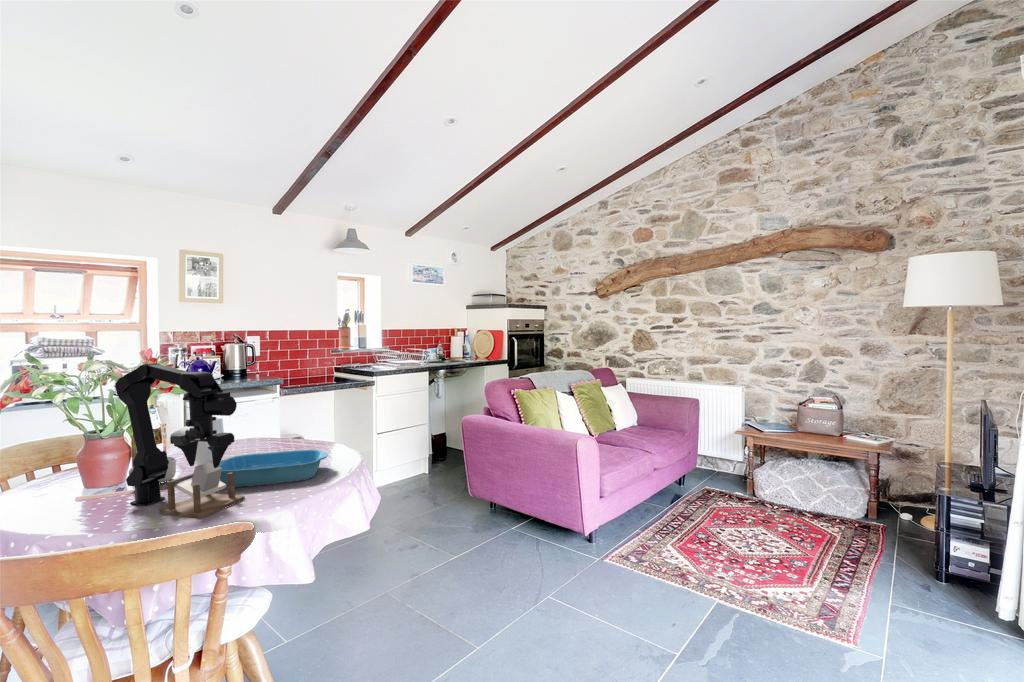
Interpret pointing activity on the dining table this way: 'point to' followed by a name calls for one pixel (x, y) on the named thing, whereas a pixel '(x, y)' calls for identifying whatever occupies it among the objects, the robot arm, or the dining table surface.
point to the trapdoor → (188, 490)
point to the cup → (202, 448)
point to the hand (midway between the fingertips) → (203, 466)
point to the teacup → (170, 470)
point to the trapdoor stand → (200, 500)
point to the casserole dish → (271, 467)
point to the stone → (206, 476)
